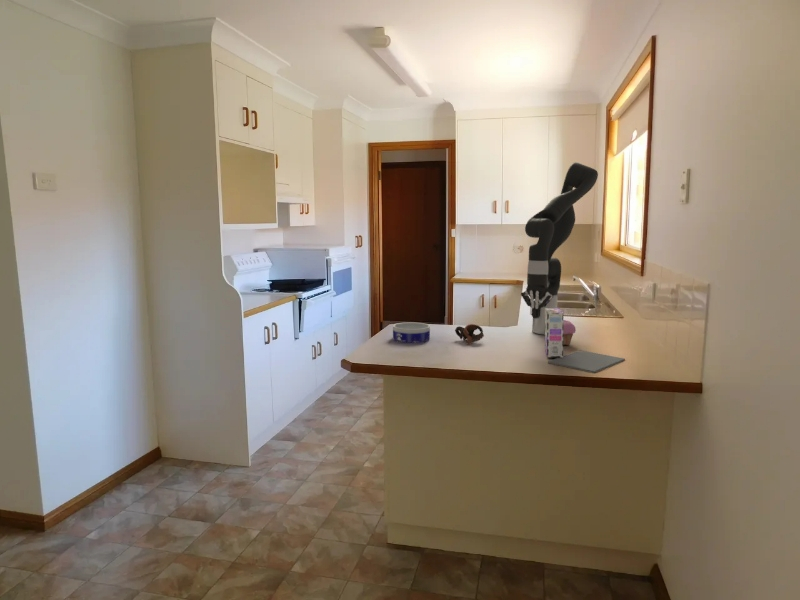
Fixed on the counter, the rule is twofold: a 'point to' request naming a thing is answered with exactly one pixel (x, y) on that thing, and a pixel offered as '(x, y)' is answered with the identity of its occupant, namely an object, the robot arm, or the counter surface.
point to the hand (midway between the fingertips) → (535, 318)
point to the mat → (587, 361)
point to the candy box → (554, 332)
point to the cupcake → (568, 332)
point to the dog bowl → (411, 332)
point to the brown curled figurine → (469, 333)
